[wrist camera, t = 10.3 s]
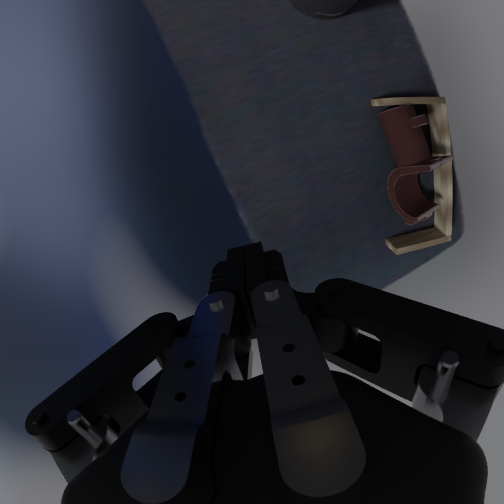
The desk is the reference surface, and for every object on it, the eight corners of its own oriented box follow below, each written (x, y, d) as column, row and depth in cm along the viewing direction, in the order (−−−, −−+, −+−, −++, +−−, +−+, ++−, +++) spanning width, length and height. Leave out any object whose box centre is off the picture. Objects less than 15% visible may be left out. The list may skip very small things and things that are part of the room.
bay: (370, 99, 35) (382, 98, 32) (430, 97, 35) (444, 97, 31) (386, 244, 45) (396, 255, 41) (438, 231, 44) (450, 240, 41)
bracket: (395, 230, 41) (447, 233, 32) (359, 121, 38) (407, 101, 28) (418, 216, 43) (467, 216, 33) (385, 115, 39) (431, 98, 30)
